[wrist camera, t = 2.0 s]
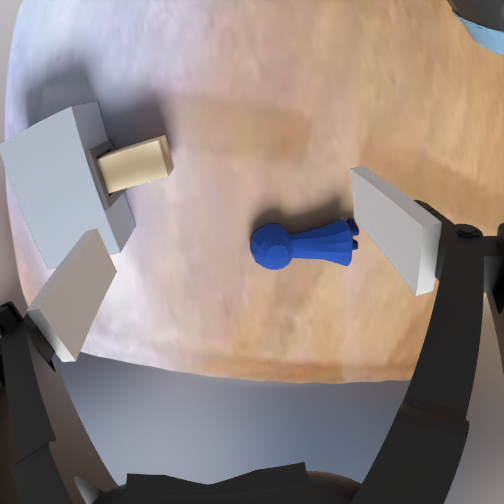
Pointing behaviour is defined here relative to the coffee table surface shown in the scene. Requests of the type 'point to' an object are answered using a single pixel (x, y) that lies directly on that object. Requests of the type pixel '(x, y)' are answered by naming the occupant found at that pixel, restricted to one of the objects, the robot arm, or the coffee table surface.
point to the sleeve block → (66, 183)
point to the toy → (304, 244)
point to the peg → (136, 164)
